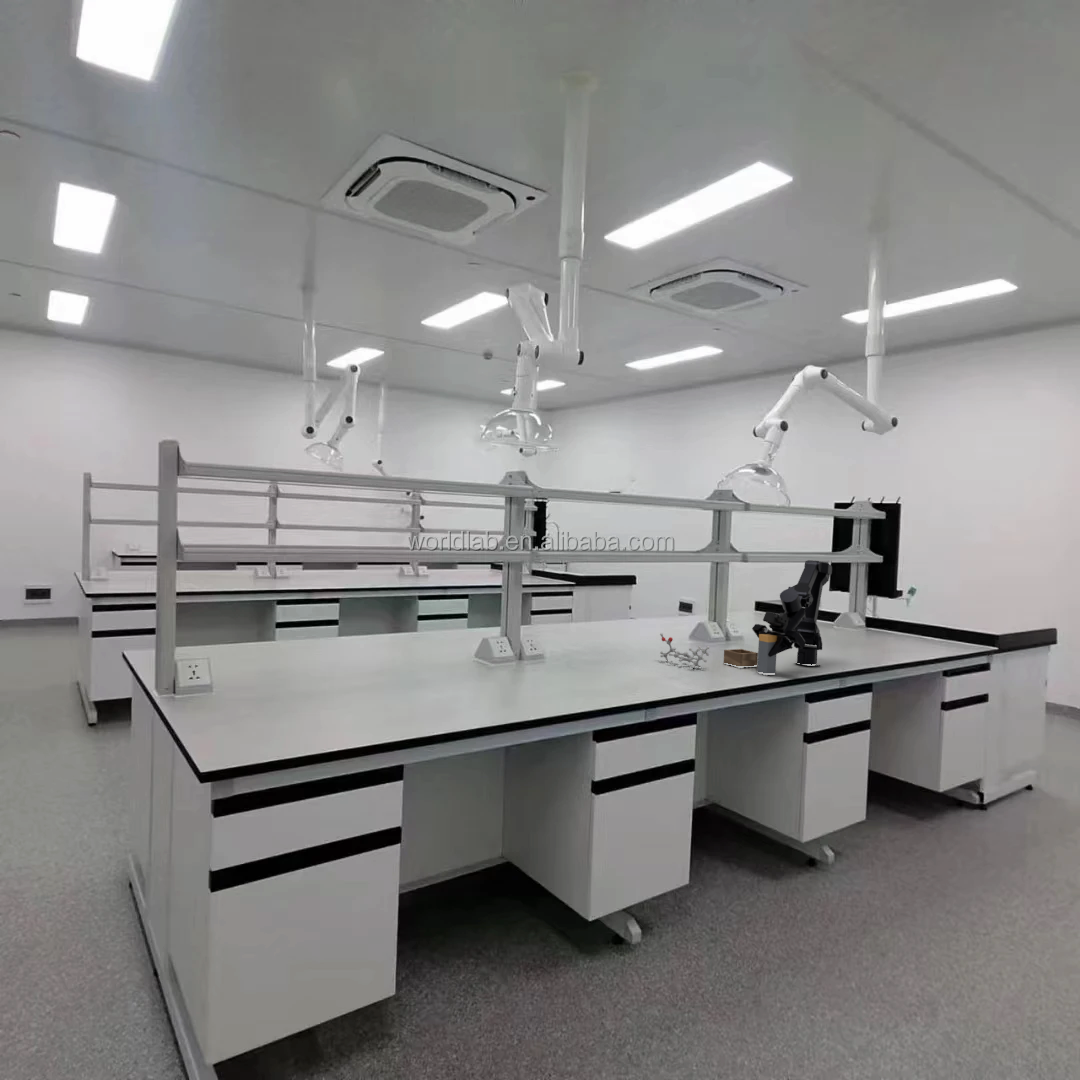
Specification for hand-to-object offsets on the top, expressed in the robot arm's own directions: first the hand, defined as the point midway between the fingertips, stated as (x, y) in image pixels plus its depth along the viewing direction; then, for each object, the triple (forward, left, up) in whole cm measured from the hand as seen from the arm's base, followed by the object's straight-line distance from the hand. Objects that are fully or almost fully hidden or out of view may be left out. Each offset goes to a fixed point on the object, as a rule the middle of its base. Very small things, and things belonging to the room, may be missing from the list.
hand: (764, 654), depth 224 cm
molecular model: (+17, -20, -7) cm, 27 cm away
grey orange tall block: (-1, 0, -7) cm, 7 cm away
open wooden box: (-3, -14, -7) cm, 16 cm away
